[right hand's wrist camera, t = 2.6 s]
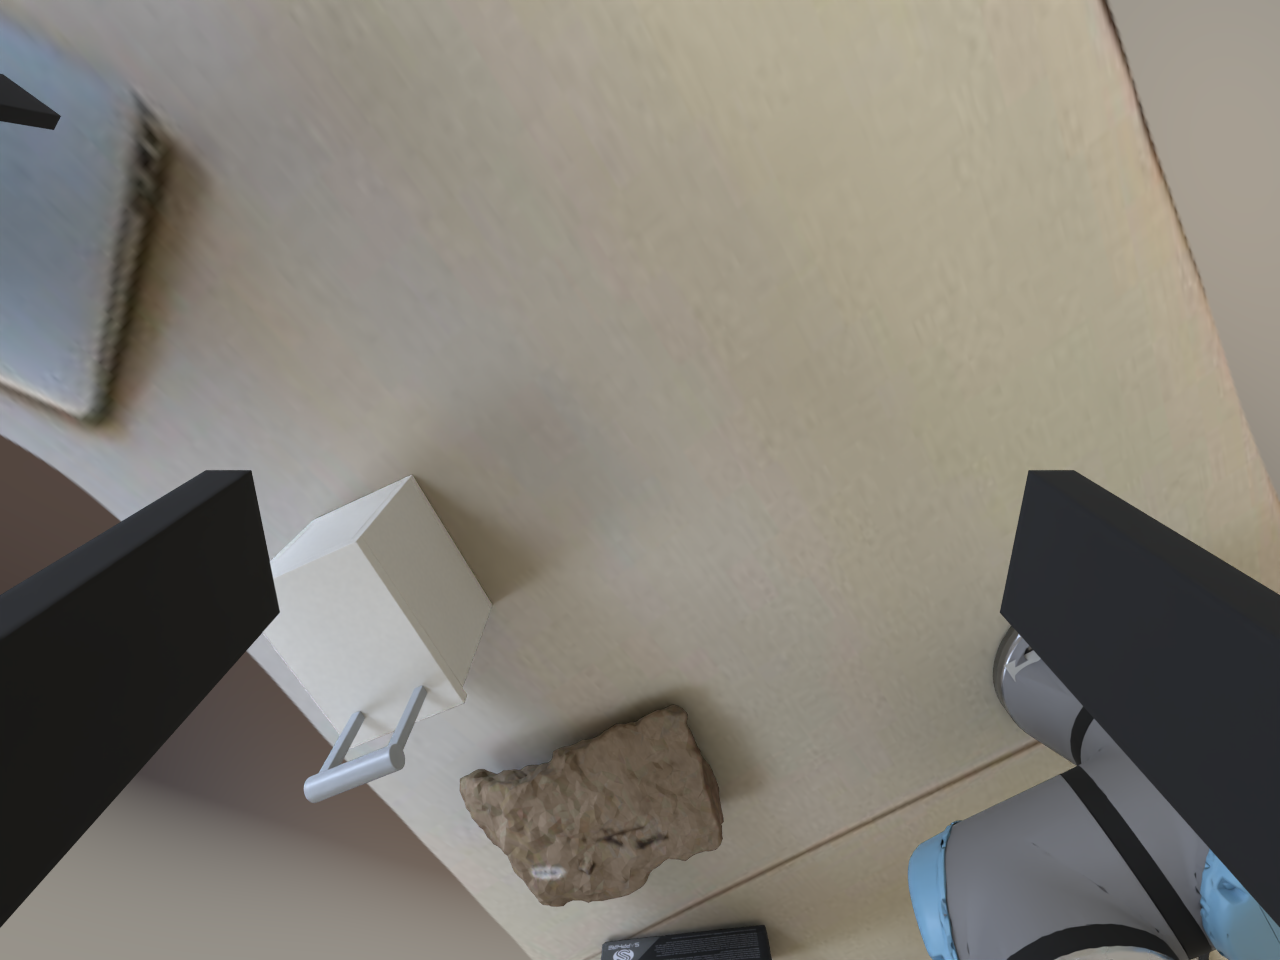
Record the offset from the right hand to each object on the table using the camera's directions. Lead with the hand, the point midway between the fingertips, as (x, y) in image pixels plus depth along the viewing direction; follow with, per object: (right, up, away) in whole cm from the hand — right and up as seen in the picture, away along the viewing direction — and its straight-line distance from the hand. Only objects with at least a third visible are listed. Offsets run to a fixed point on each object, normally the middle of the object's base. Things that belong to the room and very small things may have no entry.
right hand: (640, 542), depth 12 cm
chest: (-19, -6, +46) cm, 50 cm away
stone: (-4, -26, +54) cm, 60 cm away
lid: (-19, -10, +35) cm, 41 cm away
